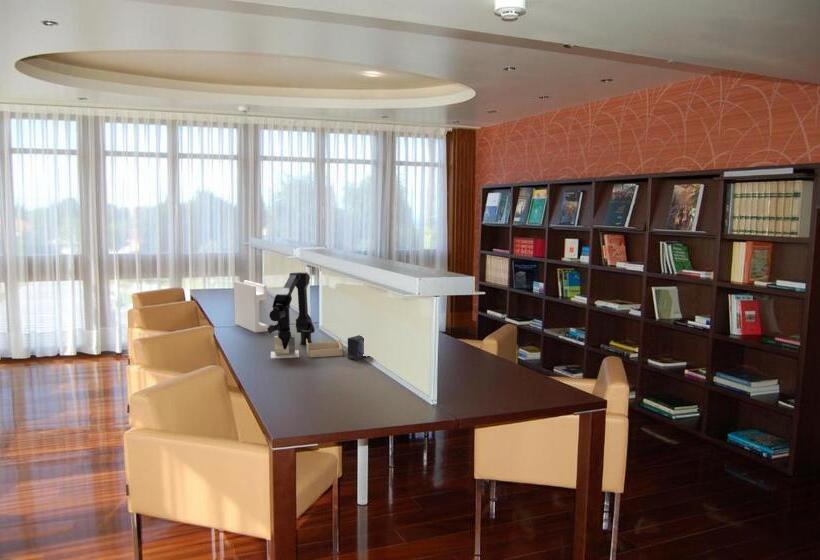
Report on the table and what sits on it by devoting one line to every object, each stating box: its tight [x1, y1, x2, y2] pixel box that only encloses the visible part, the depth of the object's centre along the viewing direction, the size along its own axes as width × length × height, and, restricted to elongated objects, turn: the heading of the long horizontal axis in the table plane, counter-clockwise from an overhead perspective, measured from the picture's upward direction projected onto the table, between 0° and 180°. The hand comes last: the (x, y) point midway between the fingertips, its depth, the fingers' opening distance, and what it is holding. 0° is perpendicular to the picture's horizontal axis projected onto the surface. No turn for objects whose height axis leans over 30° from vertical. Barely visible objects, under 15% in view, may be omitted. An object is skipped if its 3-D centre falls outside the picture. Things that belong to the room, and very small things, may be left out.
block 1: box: [233, 279, 269, 334], centre depth 396 cm, size 35×8×28 cm, turn 35°
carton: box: [305, 337, 344, 358], centre depth 327 cm, size 17×17×6 cm
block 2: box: [273, 334, 296, 354], centre depth 323 cm, size 5×10×8 cm, turn 102°
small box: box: [347, 334, 367, 361], centre depth 316 cm, size 11×6×10 cm, turn 143°
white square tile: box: [270, 349, 300, 360], centre depth 323 cm, size 14×14×1 cm
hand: (284, 348), depth 323 cm, fingers closed on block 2, 5 cm apart
